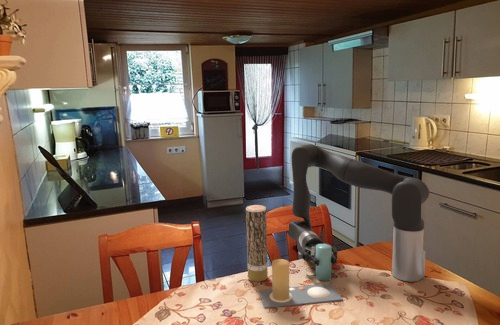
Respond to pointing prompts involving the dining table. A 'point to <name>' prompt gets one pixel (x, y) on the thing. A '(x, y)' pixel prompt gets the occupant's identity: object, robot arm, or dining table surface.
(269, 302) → the card
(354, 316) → the dining table surface
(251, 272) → the wooden log
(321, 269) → the teal tube
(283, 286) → the amber tube
